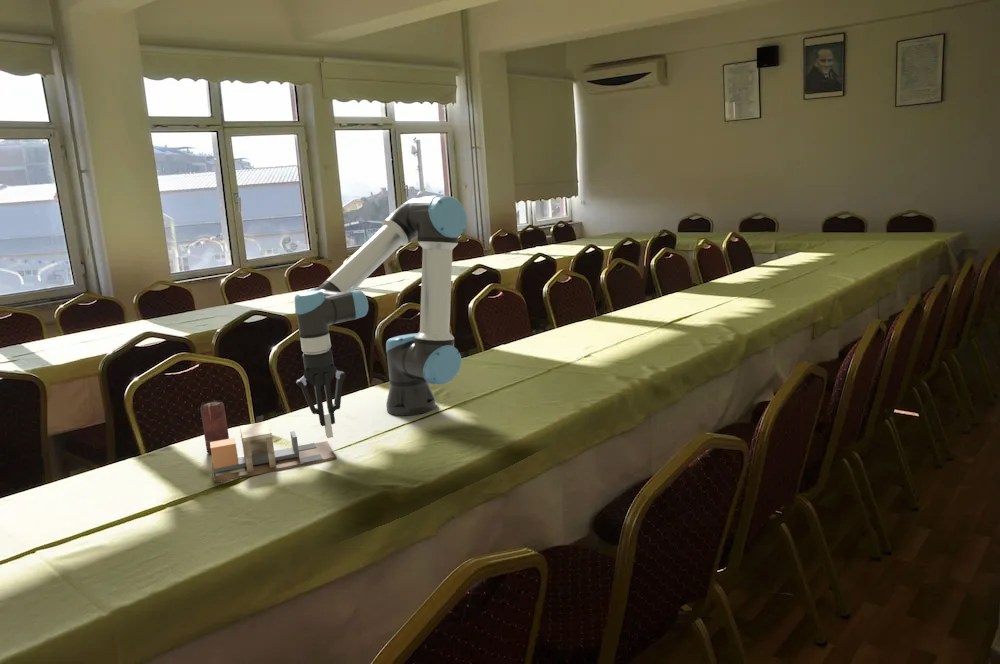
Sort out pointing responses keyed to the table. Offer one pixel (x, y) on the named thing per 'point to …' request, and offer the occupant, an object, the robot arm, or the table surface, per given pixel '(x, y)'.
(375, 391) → the table surface
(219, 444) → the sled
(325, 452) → the tunnel board
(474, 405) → the table surface
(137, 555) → the table surface
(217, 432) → the can
